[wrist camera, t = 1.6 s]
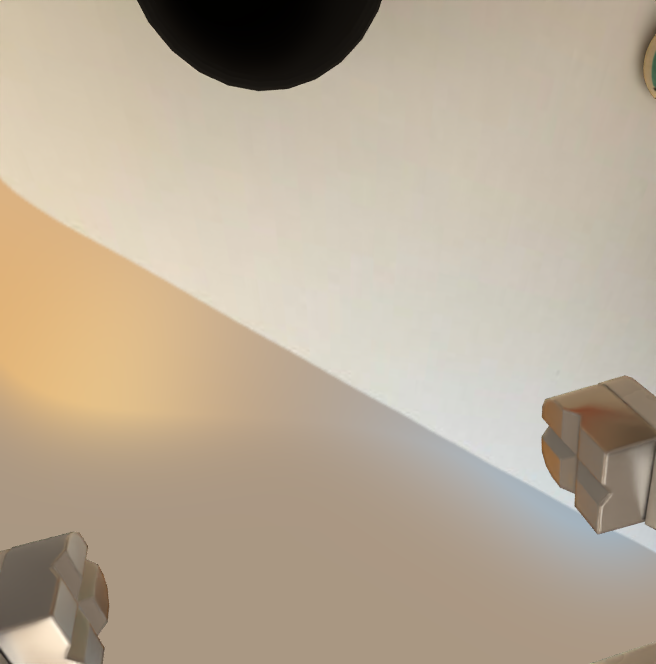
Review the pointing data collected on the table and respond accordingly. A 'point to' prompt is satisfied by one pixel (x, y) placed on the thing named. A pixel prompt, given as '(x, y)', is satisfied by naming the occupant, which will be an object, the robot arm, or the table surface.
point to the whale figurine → (650, 67)
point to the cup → (261, 37)
